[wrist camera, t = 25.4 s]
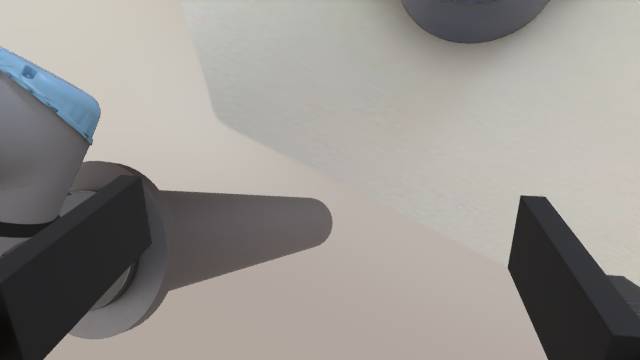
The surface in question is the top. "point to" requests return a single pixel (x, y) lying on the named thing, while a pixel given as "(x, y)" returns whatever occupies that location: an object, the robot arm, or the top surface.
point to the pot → (473, 17)
